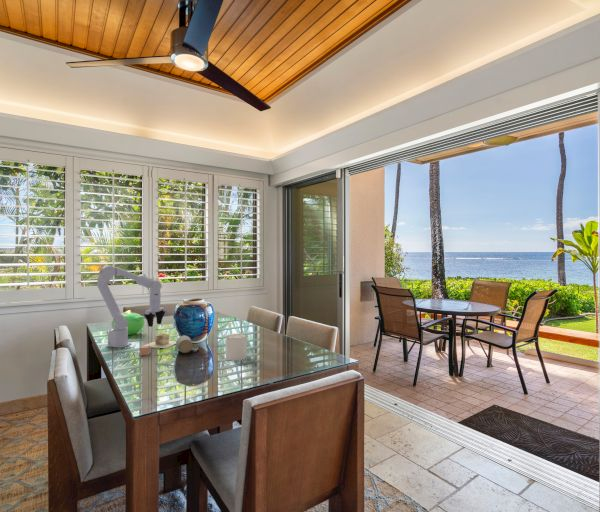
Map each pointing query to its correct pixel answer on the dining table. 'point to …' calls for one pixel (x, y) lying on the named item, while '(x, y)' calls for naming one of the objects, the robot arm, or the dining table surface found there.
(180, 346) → the ceramic mug
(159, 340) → the oak cube
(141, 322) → the green rounded piece
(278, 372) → the dining table surface
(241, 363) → the dining table surface
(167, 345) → the trivet
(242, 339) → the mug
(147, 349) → the terracotta block
